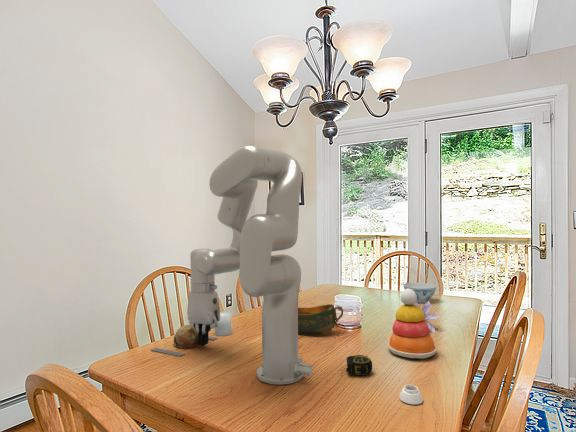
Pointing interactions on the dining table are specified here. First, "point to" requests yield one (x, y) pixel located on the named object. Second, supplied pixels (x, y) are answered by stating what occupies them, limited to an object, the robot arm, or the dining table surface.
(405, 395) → the white jar
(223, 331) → the cup
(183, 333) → the bread roll
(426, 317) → the water lily
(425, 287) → the chinaware
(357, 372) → the tape measure
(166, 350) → the strip
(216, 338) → the bay strip right
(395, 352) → the stacking toy
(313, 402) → the dining table surface
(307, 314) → the creamer
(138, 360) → the dining table surface
